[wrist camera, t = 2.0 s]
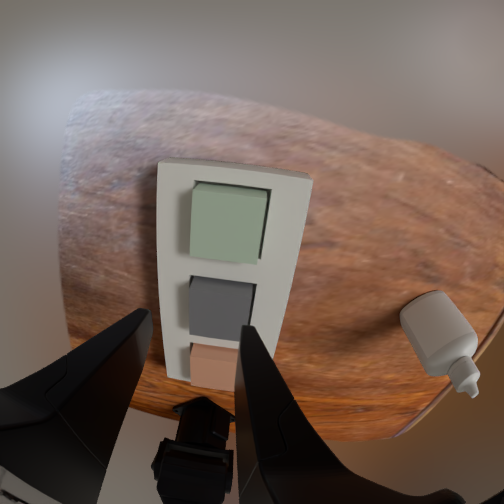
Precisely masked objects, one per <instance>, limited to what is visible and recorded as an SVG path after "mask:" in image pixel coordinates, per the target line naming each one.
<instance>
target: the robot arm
mask: <svg viewBox="0 0 504 504" xmlns="http://www.w3.org/2000/svg"><path fill="white" fill-rule="evenodd" d="M152 334H153V323H152V314H151V311H150V310H149V309H144V308H138V309H137V310H135V311H133V312H132V313H130V314H129V315H127V316H125V317H124V318H122V319H121V320H119V321H117V322H116V323H114V324H113V325H111V326H110V327H108V328H106V329H105V330H103V331H102V332H100V333H99V334H97V335H95V336H94V337H92V338H91V339H89V340H88V341H86V342H84V343H83V344H81V345H80V346H78V347H77V348H75V349H74V350H72V351H70V352H69V353H67V355H65V356H63V357H61V358H60V359H58V360H56V361H55V362H53V363H52V364H50V365H48V366H47V367H45V368H43V369H41V370H39V371H37V372H35V373H33V374H32V375H29V376H28V377H26V378H24V379H22V380H20V381H18V382H16V383H14V384H12V385H10V386H7V387H5V388H1V389H0V504H97V500H98V497H99V493H100V490H101V487H102V483H103V480H104V477H105V474H106V469H107V467H108V464H109V461H110V458H111V455H112V451H113V449H114V446H115V443H116V440H117V437H118V434H119V431H120V429H121V426H122V423H123V420H124V418H125V415H126V412H127V409H128V407H129V404H130V401H131V399H132V396H133V394H134V391H135V388H136V386H137V383H138V381H139V378H140V376H141V373H142V370H143V367H144V363H145V359H146V356H147V352H148V348H149V345H150V341H151V338H152ZM234 397H235V416H234V415H232V414H231V413H229V412H228V411H226V410H224V409H223V408H221V407H220V406H218V405H217V404H215V403H214V402H212V401H211V400H209V399H208V398H205V397H202V398H199V399H196V400H193V401H190V402H187V403H185V404H182V405H179V406H176V407H173V411H174V412H175V413H177V414H178V415H180V416H181V417H180V421H179V426H178V430H177V434H176V439H175V441H174V440H170V439H168V438H164V440H163V441H161V442H160V445H159V449H158V452H157V454H156V456H155V458H154V461H153V462H152V465H151V468H152V470H153V471H154V479H155V480H156V481H158V482H157V491H158V493H159V495H160V497H161V500H162V502H163V504H222V503H223V501H224V497H225V493H227V494H229V493H230V491H231V486H232V479H233V453H234V452H233V451H234V450H225V447H226V441H227V440H228V435H229V426H230V423H231V422H235V425H236V448H237V470H238V488H239V504H465V503H466V501H465V500H464V499H463V498H462V497H461V496H460V495H459V494H458V493H456V492H454V491H451V490H449V489H447V488H445V489H441V490H438V491H436V492H433V493H431V494H428V495H424V496H410V495H406V494H403V493H400V492H397V491H394V490H392V489H389V488H387V487H384V486H382V485H379V484H377V483H375V482H372V481H370V480H368V479H365V478H363V477H361V476H359V475H357V474H355V473H353V472H352V471H350V470H349V469H348V468H346V467H345V466H344V465H343V464H342V463H341V462H340V460H339V459H338V458H337V457H336V456H335V454H334V453H333V452H332V451H331V450H330V448H329V447H328V446H327V445H326V443H325V442H324V441H323V440H322V438H321V437H320V436H319V435H318V434H317V432H316V431H315V430H314V428H313V427H312V425H311V424H310V423H309V421H308V420H307V418H306V417H305V415H304V414H303V412H302V410H301V409H300V407H299V405H298V404H297V402H296V400H294V397H293V395H292V393H291V392H290V390H289V388H288V386H287V384H286V383H285V381H284V379H283V377H282V376H281V374H280V372H279V370H278V368H277V367H276V365H275V363H274V361H273V359H272V358H271V356H270V354H269V352H268V350H267V348H266V347H265V345H264V343H263V341H262V339H261V337H260V335H259V334H258V332H257V330H256V328H255V327H254V326H252V325H242V326H241V333H240V340H239V347H238V356H237V365H236V374H235V384H234ZM479 504H504V489H503V490H502V491H500V492H498V493H497V494H495V495H493V496H492V497H490V498H488V499H487V500H485V501H483V502H481V503H479Z"/></svg>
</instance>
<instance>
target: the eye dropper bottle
mask: <svg viewBox="0 0 504 504" xmlns="http://www.w3.org/2000/svg"><path fill="white" fill-rule="evenodd" d="M399 317H400V323H401V326H402V328H403V330H404V332H405V334H406V336H407V337H408V339H409V341H410V343H411V345H412V347H413V349H414V351H415V353H416V354H417V356H418V358H419V360H420V362H421V364H422V366H423V368H424V370H425V371H426V373H427V374H428V375H430V376H442V375H447V374H448V376H449V378H450V380H451V382H452V383H453V385H454V387H455V389H456V391H457V392H463V391H466V392H467V393H468V394H469V395H470V396H471V397H472V398H474V397H476V396H477V395H478V393H479V392H478V388H477V384H476V382H477V380H478V378H479V376H480V372H479V370H478V369H477V367H476V366H475V364H474V362H473V361H472V359H471V357H472V356H473V354H474V353H475V351H476V348H477V343H478V337H477V334H476V333H475V331H474V330H473V328H472V327H471V325H470V324H469V323H468V321H467V320H466V319H465V317H464V316H463V315H462V313H461V312H460V311H459V310H458V308H457V307H456V306H455V305H454V303H453V302H452V301H451V300H450V298H449V297H448V296H447V295H446V294H445V293H444V292H443V291H441V290H437V291H432V292H429V293H426V294H424V295H421V296H419V297H418V298H416V299H414V300H413V301H412V302H410V303H409V304H408V305H406V306H405V307H404V308H403V309H402V310H401V312H400V315H399Z"/></svg>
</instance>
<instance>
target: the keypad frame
mask: <svg viewBox="0 0 504 504" xmlns="http://www.w3.org/2000/svg"><path fill="white" fill-rule="evenodd" d="M199 183H204V184H214V185H223V186H232V187H240V188H248V189H256V190H263V191H266V193H267V201H266V208H265V215H264V221H263V228H262V235H261V241H260V248H259V254H258V261H257V265H254V264H246V263H239V262H231V261H223V260H216V259H208V258H201V257H193V256H190V233H191V212H192V195H193V189H194V188H195V187H196V186H197V185H198V184H199ZM312 185H313V179H312V178H311V177H310V176H309V175H308V174H307V173H303V172H297V171H291V170H285V169H278V168H271V167H264V166H257V165H249V164H241V163H232V162H222V161H212V160H201V159H189V158H174V157H170V158H167V159H165V160H162V161H160V162H158V173H157V266H158V286H159V301H160V314H161V325H162V335H163V345H164V353H165V361H166V369H167V376H168V377H169V378H174V379H180V380H185V381H191V372H190V354H191V350H192V347H193V343H199V344H205V345H212V346H219V347H226V348H234V349H238V347H239V342H237V341H229V340H222V339H215V338H208V337H202V336H195V335H189V288H190V286H191V283H192V281H193V278H194V276H202V277H210V278H217V279H224V280H232V281H240V282H247V283H253V286H252V299H251V306H250V312H249V319H248V325H252V326H254V327H255V328H256V330H257V332H258V334H259V335H260V337H261V339H262V341H263V343H264V345H265V347H266V348H267V350H268V352H269V354H270V356H271V358H272V359H273V356H274V352H275V349H276V345H277V341H278V337H279V333H280V329H281V326H282V322H283V318H284V314H285V310H286V306H287V301H288V297H289V293H290V289H291V285H292V280H293V276H294V272H295V267H296V263H297V258H298V254H299V249H300V245H301V240H302V235H303V231H304V226H305V221H306V216H307V211H308V206H309V201H310V196H311V190H312Z"/></svg>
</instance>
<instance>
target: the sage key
mask: <svg viewBox="0 0 504 504" xmlns="http://www.w3.org/2000/svg"><path fill="white" fill-rule="evenodd" d="M266 201H267V193H266V191H263V190H256V189H248V188H240V187H232V186H223V185H214V184H204V183H199V184H198V185H197V186H196V187H195V188H194V189H193V195H192V212H191V233H190V256H193V257H201V258H208V259H216V260H223V261H231V262H239V263H246V264H254V265H257V261H258V254H259V248H260V241H261V235H262V228H263V221H264V215H265V208H266Z"/></svg>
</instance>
